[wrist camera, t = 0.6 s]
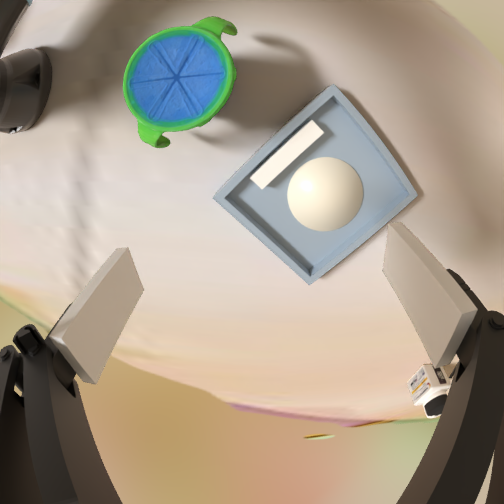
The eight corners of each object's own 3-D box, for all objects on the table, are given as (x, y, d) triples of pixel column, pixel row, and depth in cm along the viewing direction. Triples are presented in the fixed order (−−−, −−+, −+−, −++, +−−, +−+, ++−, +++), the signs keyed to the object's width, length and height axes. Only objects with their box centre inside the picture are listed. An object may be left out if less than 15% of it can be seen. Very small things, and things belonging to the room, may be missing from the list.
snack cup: (197, 157, 33) (171, 176, 24) (135, 116, 30) (92, 122, 21) (274, 61, 26) (277, 40, 17) (205, 20, 23) (182, -10, 14)
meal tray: (216, 192, 35) (212, 198, 32) (328, 85, 27) (333, 83, 25) (307, 275, 40) (309, 285, 38) (409, 189, 33) (418, 195, 30)
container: (422, 363, 51) (439, 406, 40) (441, 363, 52) (459, 402, 41) (405, 382, 55) (419, 423, 44) (425, 381, 56) (439, 419, 44)
